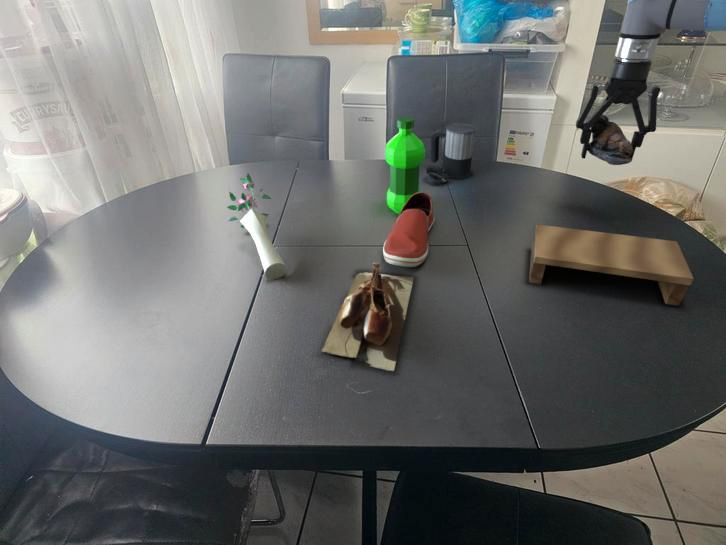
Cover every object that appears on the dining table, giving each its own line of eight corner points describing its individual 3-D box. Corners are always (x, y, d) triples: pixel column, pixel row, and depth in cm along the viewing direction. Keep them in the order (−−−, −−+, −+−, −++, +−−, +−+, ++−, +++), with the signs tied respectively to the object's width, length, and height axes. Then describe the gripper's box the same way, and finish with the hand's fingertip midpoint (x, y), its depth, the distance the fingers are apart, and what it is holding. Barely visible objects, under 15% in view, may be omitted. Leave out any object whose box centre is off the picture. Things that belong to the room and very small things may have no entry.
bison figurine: (635, 165, 107) (649, 123, 101) (615, 171, 105) (628, 128, 99) (594, 151, 116) (605, 111, 110) (574, 155, 114) (584, 115, 108)
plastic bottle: (417, 221, 119) (421, 126, 104) (380, 215, 122) (378, 123, 108) (426, 205, 126) (431, 115, 112) (391, 200, 130) (391, 112, 115)
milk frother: (472, 168, 147) (477, 123, 138) (470, 188, 134) (475, 140, 126) (428, 166, 150) (431, 121, 141) (423, 185, 137) (425, 138, 129)
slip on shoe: (372, 273, 100) (371, 239, 94) (402, 214, 122) (403, 184, 117) (419, 281, 97) (421, 246, 92) (441, 219, 119) (444, 188, 114)
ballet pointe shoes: (314, 335, 75) (351, 247, 97) (318, 363, 78) (353, 272, 101) (395, 343, 72) (414, 251, 94) (395, 371, 76) (414, 276, 98)
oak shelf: (665, 268, 98) (677, 241, 94) (679, 307, 87) (693, 278, 83) (530, 250, 105) (536, 224, 101) (528, 284, 95) (535, 256, 91)
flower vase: (265, 304, 104) (230, 214, 125) (312, 280, 105) (269, 194, 126) (243, 275, 94) (209, 183, 115) (295, 249, 95) (252, 162, 117)
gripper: (578, 61, 98) (557, 160, 110) (696, 63, 91) (659, 167, 104) (577, 55, 104) (557, 149, 116) (687, 56, 97) (653, 156, 110)
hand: (605, 158), depth 110 cm, fingers closed on bison figurine, 10 cm apart
